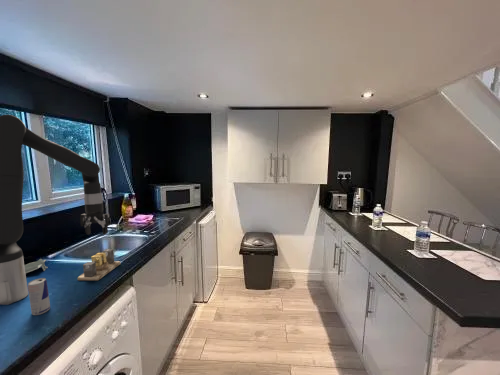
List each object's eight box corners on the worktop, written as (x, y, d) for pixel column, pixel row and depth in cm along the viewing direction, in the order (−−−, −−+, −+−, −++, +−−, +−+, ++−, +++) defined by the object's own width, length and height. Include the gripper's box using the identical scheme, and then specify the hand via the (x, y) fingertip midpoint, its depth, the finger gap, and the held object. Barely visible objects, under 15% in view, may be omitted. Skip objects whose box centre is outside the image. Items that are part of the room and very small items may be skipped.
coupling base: (98, 280, 113) (96, 263, 112) (77, 280, 113) (75, 263, 112) (120, 263, 131) (119, 248, 130) (102, 263, 131) (101, 248, 130)
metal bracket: (47, 254, 132) (38, 265, 118) (52, 263, 133) (43, 275, 120) (15, 267, 126) (1, 279, 113) (20, 276, 128) (8, 289, 114)
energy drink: (54, 306, 93) (50, 277, 92) (42, 315, 88) (38, 284, 86) (39, 307, 93) (35, 278, 92) (27, 316, 88) (23, 285, 86)
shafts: (89, 268, 113) (88, 261, 113) (85, 268, 113) (84, 261, 113) (112, 254, 130) (111, 247, 130) (108, 254, 130) (108, 247, 130)
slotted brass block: (99, 261, 124) (98, 252, 124) (106, 261, 124) (105, 252, 123) (92, 266, 119) (91, 256, 119) (99, 266, 119) (99, 256, 118)
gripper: (74, 203, 114) (77, 236, 116) (102, 203, 114) (105, 236, 116) (85, 201, 122) (88, 232, 124) (112, 200, 121) (115, 231, 123)
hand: (96, 234), depth 120 cm, fingers open, 8 cm apart
